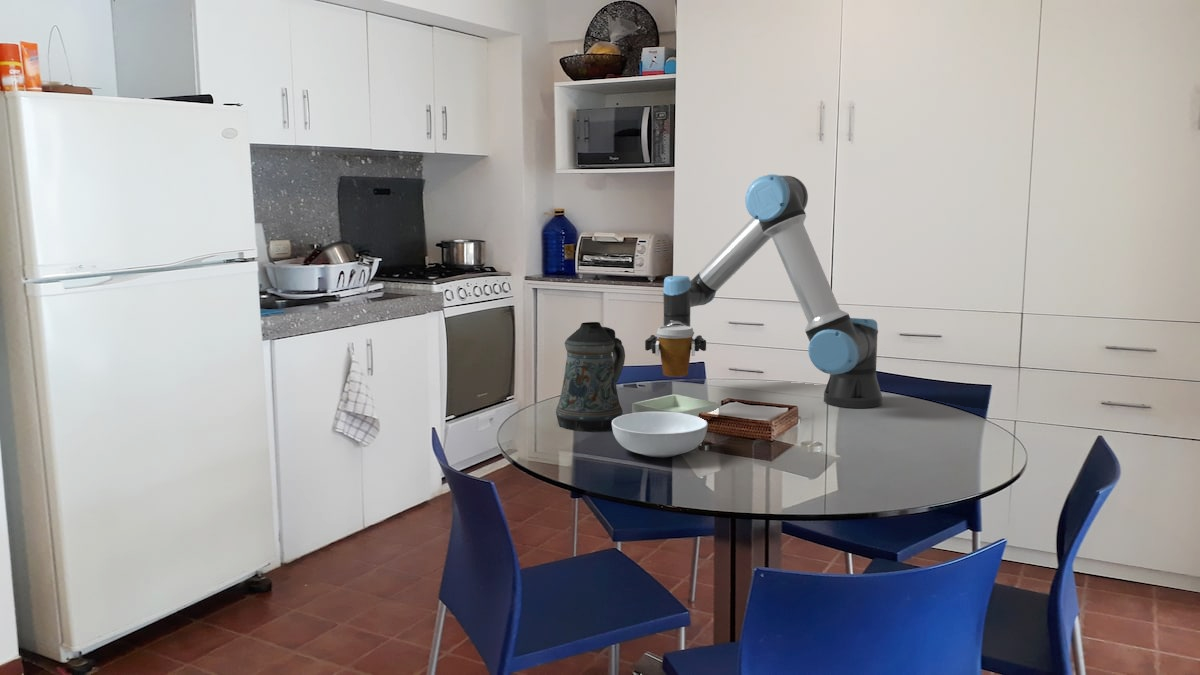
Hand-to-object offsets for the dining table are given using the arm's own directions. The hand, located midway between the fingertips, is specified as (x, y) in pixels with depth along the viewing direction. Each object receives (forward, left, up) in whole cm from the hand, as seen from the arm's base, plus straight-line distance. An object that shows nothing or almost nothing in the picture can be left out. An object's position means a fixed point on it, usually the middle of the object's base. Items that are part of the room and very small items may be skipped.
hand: (675, 350), depth 220 cm
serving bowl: (-17, +23, -18) cm, 34 cm away
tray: (+3, -3, -18) cm, 18 cm away
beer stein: (+14, +16, -18) cm, 28 cm away
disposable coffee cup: (+3, -3, -7) cm, 9 cm away
